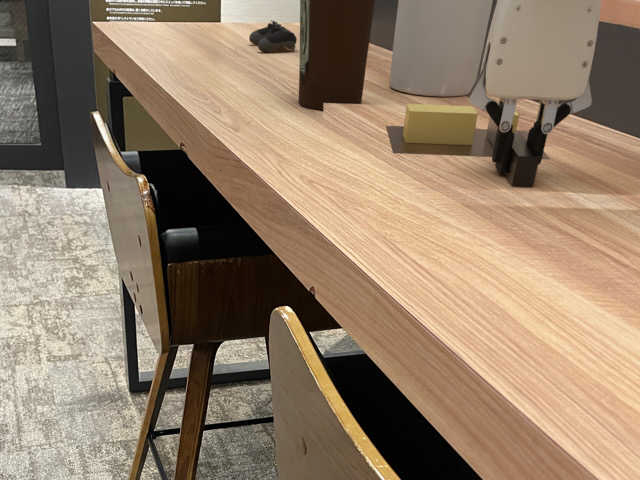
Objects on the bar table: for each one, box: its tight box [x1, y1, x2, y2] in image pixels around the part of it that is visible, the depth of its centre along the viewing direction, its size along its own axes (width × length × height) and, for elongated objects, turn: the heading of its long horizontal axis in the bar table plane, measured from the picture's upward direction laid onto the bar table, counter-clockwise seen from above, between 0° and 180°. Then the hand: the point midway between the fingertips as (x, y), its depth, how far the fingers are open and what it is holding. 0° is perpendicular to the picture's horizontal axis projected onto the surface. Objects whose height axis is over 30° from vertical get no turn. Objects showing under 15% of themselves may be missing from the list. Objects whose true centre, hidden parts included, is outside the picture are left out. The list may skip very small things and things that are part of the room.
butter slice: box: [512, 110, 520, 133], centre depth 99 cm, size 2×4×4 cm, turn 176°
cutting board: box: [385, 125, 551, 160], centre depth 100 cm, size 18×14×2 cm
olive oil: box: [298, 0, 376, 111], centre depth 115 cm, size 11×11×25 cm
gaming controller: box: [248, 20, 298, 53], centre depth 163 cm, size 12×8×5 cm, turn 10°
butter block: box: [403, 103, 479, 145], centre depth 99 cm, size 8×4×4 cm, turn 86°
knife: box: [486, 116, 540, 189], centre depth 92 cm, size 22×2×3 cm, turn 176°
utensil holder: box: [389, 0, 494, 98], centre depth 128 cm, size 15×15×18 cm
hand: (514, 169), depth 88 cm, fingers closed on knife, 2 cm apart
